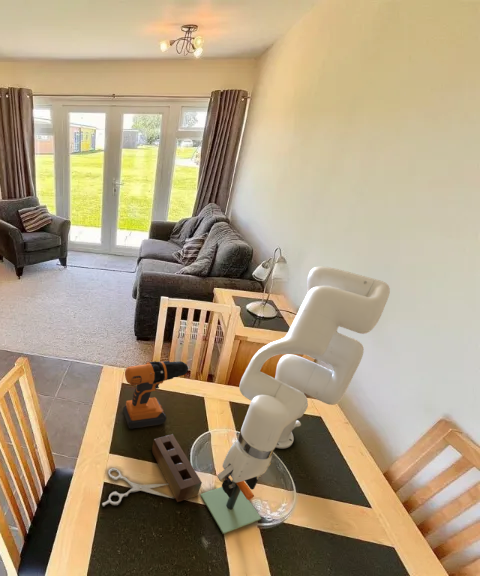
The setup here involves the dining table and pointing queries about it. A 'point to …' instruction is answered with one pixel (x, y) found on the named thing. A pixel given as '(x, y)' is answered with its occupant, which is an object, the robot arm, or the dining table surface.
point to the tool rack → (176, 468)
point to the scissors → (134, 488)
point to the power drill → (149, 391)
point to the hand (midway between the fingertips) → (237, 487)
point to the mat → (229, 518)
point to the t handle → (238, 487)
